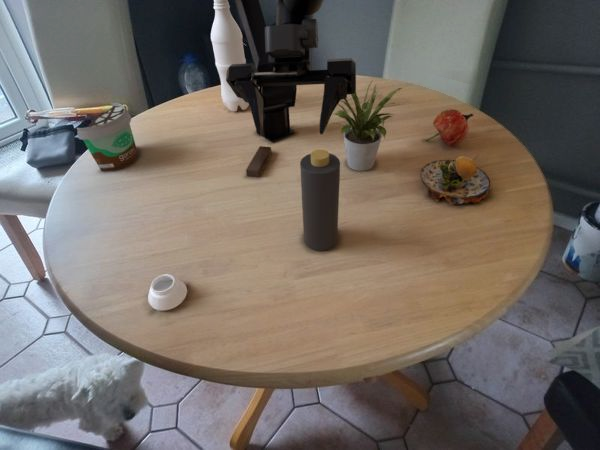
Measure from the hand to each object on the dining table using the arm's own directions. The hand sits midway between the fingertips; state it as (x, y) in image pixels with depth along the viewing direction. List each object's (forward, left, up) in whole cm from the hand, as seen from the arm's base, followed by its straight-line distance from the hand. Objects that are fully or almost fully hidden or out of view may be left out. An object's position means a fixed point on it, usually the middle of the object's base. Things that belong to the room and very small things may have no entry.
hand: (289, 134), depth 54 cm
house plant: (-18, -4, -14) cm, 23 cm away
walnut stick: (-4, -16, -14) cm, 22 cm away
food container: (+16, -37, -14) cm, 43 cm away
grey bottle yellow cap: (+1, +8, -14) cm, 17 cm away
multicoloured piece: (-26, +13, -14) cm, 32 cm away
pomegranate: (-38, +4, -14) cm, 40 cm away
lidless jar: (+24, +3, -14) cm, 29 cm away
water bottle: (-15, -43, -14) cm, 47 cm away
